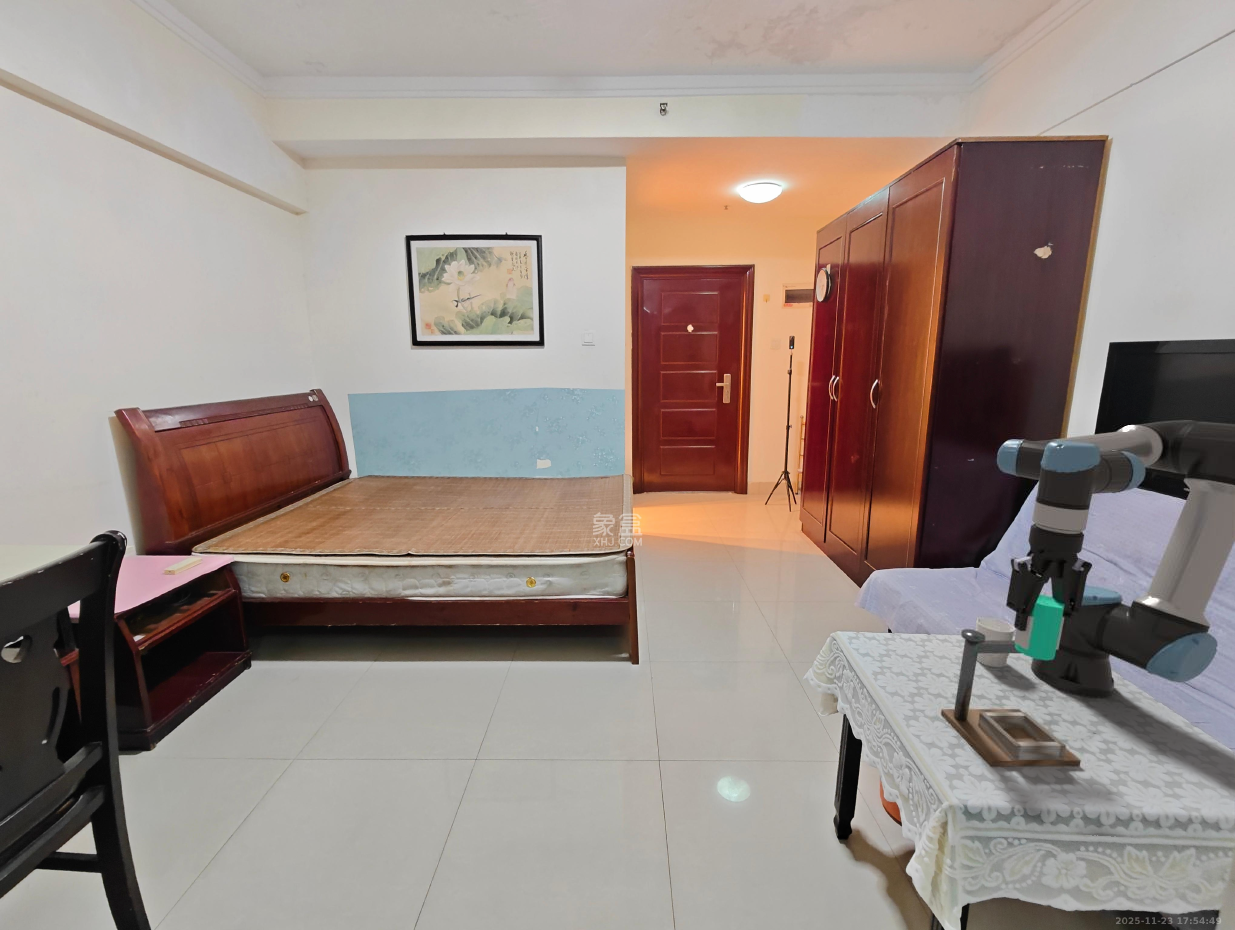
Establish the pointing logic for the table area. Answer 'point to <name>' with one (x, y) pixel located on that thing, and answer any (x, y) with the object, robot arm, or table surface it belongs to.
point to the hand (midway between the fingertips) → (1035, 645)
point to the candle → (1044, 628)
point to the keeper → (971, 649)
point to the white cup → (994, 631)
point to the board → (1011, 738)
